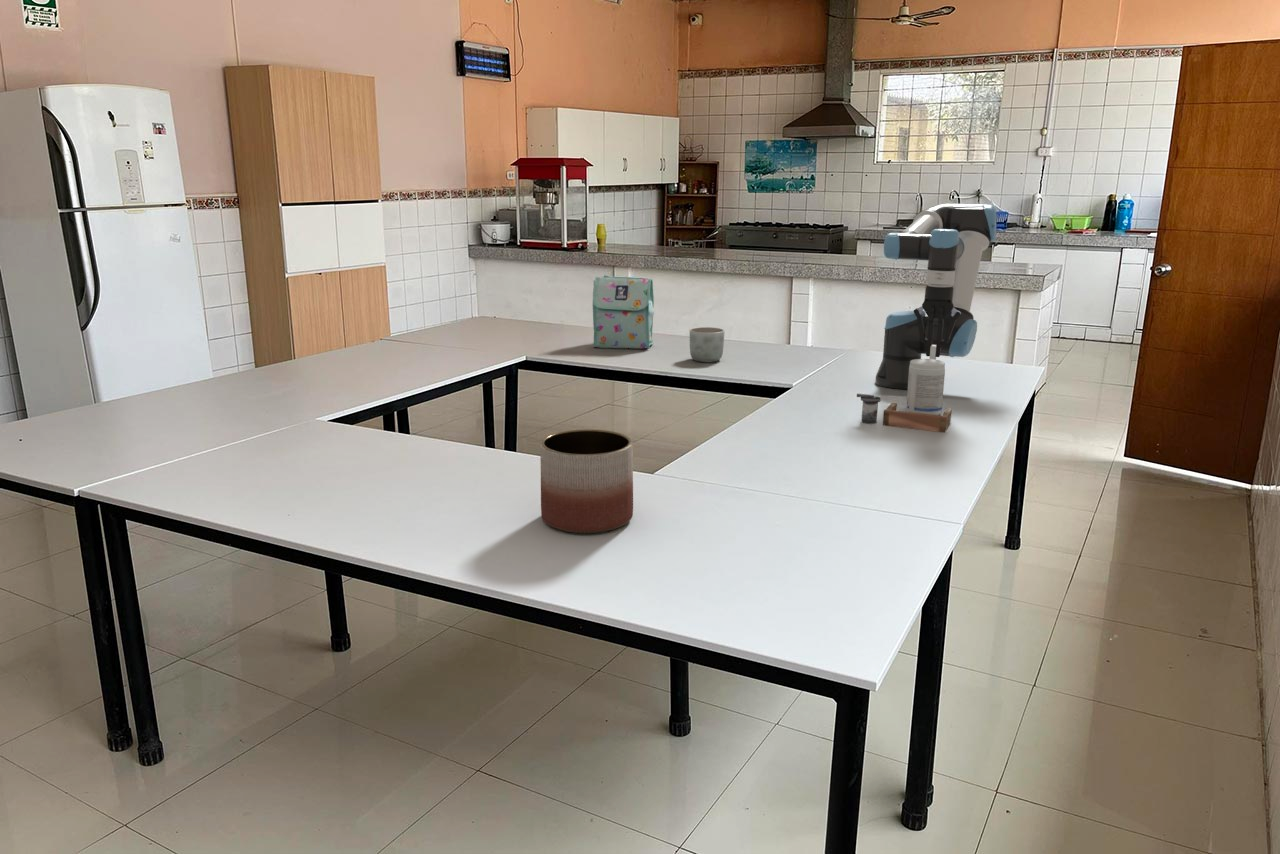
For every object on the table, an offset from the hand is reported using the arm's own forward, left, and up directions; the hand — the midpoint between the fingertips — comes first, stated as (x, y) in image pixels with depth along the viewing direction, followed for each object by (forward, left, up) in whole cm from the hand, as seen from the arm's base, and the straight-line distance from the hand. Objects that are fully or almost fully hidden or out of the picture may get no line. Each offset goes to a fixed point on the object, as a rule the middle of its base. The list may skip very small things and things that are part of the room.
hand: (931, 367), depth 263 cm
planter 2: (-32, -81, -11) cm, 88 cm away
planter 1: (+123, -47, -11) cm, 132 cm away
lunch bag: (-43, -119, -11) cm, 127 cm away
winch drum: (+27, -12, -11) cm, 31 cm away
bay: (+23, 0, -11) cm, 25 cm away
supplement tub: (+11, 0, -11) cm, 15 cm away
